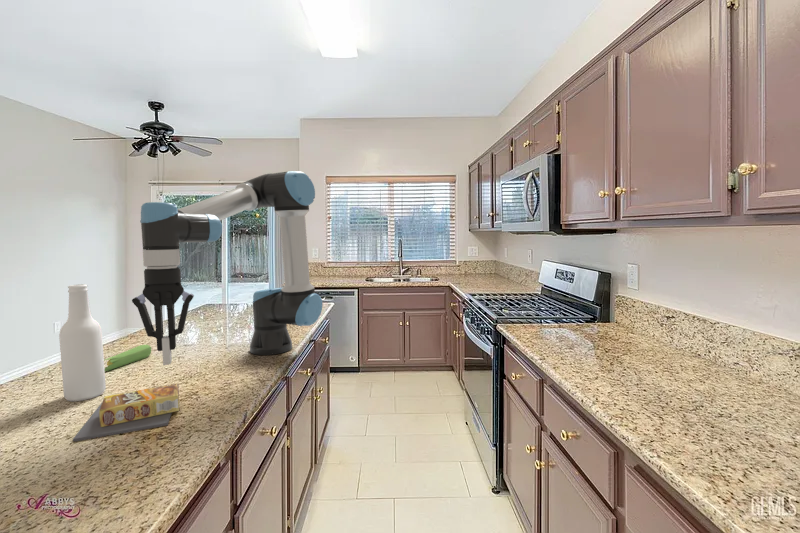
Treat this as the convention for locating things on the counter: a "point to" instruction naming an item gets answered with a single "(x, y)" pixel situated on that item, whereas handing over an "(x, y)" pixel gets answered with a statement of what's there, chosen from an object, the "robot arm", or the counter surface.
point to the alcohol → (81, 349)
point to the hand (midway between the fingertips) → (167, 363)
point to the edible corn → (128, 357)
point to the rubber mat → (118, 426)
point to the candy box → (139, 404)
